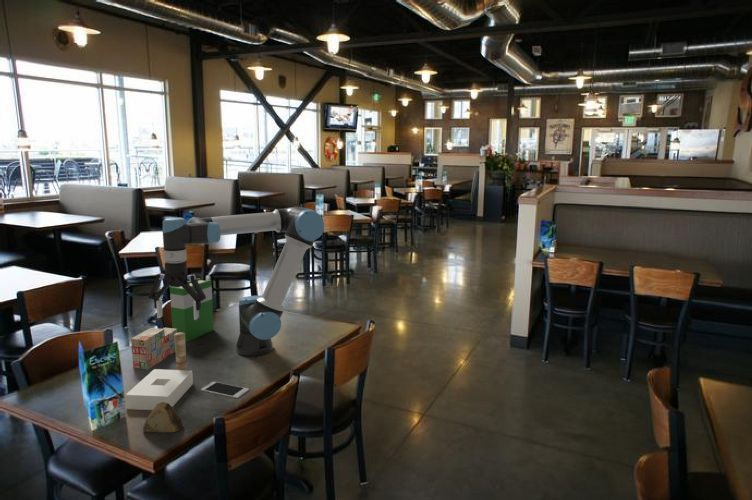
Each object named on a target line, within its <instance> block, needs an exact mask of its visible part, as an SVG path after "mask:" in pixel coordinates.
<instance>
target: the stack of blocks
mask: <svg viewBox="0 0 752 500" xmlns="http://www.w3.org/2000/svg"><path fill="white" fill-rule="evenodd" d="M176 333H178V332H177V329H174V328H171V327H163V328H156V327H149V328H148V329H145V330H144V331H142V332H140V333H139V334H137V335H134V336H133V337H132V338H131V354H132V365H133V366H132V368H133V369H139V370H147V371H148V370H149V369H151V368H152V367H154V366H156V365H157V364H159V363H160V362H162V361H163V360H165V359H166V358H167V357H169V356H171V355H172V354H174V353H175V336H174V334H176Z"/></svg>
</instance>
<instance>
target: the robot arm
mask: <svg viewBox="0 0 752 500" xmlns="http://www.w3.org/2000/svg"><path fill="white" fill-rule="evenodd" d="M324 230H325V222H324V219H323V216H322V215H320V213H319V212H317V211H316V210H314V209H310V208H306V207H303V206H291V207H284V208H275V209H274V210H273V211H271V212H270V211H269V212H258V213H257V212H256V213H246V214H245V213H243V214H233V215H220V216H212V217H208V216H207V217H201V216H200V217H199V216H193V217H191V218H189V219H188V221H186V220H185V217H166V218H164V219H163V220H162V240H163V241H162V243H163V260H164V263H163V264H164V273H162V272H159V273H157V274H156V275H155V281H154V284H153V286H152V287H151V290H150V292H149V294H148V297H147V298H148V299H149V300H151V299H152V300H153V305H154V309H155V310H156V317H157V319H160V318H162V317H163V316H164V315H163V302H162V301H163V299H162V298H161V297H162V296H163V294H164V293H165V292H166V291H167V289H168V288H170V287H175V286H176V287H181V286H182V287H183V288H184V289H185V290H186V291H187V292H188V293H189V294H190V296H191V297H192V298H193V299H194V300H195V302H193V306H194V320H196V319H198V318H199V310H200V309H201V301H203V300H204V299H205V298H206V296H205V294H204V292H203V291H202V289H201V287H200V285H199V283H198V281H197V279H198V277H197V274H195V273H193V274H188V263H187V257H188V256H187V245H191V244H192V245H193V244H197V245H198V244H214V243H219V242H220V240H221V236H228V235H239V234H241V235H242V234H249V233H250V234H252V233H261V232H271V231H275V232H276V233H284V237H285V240H286V241H285V243H284V245H283V248H282V250H281V253H280V254H279V257H278V259H277V261H276V264H275V265H274V268H273V270H272V272H271V275H270V278H269V279H268V281H267V284H266V286H265V289H264V291H263V293H262V295H250V296H249V295H248V296H247V295H246V296H244V297H241V298H240V299H239V300H238V316H239V317H238V318H239V320H238V321H239V324H238V325H239V334H238V338H237V341H236V344H235V352H236V353H237V354H238V355H241V356H244V357H245V356H246V357H257V356H263V355H267V354H269V353H270V352H272V351H273V347H274V346H273V341H272V338H274V337H275V336H277V334H279V333H280V331H281V328H282V319H281V318H282V315H283V313H284V311H285V308H284V306H283V304H284V302H285V299H286V297H287V294H288V292H289V289H290V287H291V285H292V283H293V281H294V279H295V276H296V274H297V272H298V270H299V267H300V265H301V262H302V260H303V258H304V256H305V253H306V251H307V250H308V249H310V248H312V247H313V245H314V243H315V241H316V240H317V239H319V238H320V237H321V236H322V235H323V232H324ZM162 280H165V281H166V282H165V283H164V284H163V286H162V287H161V289H160V290H159V291H158V289H159V287H160V285H161V283H162ZM188 281H191V283H192V285H193V287H194V289H195V291H196V292H197V293H196V292H195V291H194V290H193V288H192V287H191V286H190V285H189V283H188Z"/></svg>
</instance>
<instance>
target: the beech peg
mask: <svg viewBox="0 0 752 500" xmlns="http://www.w3.org/2000/svg"><path fill="white" fill-rule="evenodd" d="M174 336H175V352H174V353H175V366H176V368H175V370H188V367H187V351H186V350H187V349H186V348H187V347H186V342H185V333H183V332H180V333H176V334H174Z"/></svg>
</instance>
